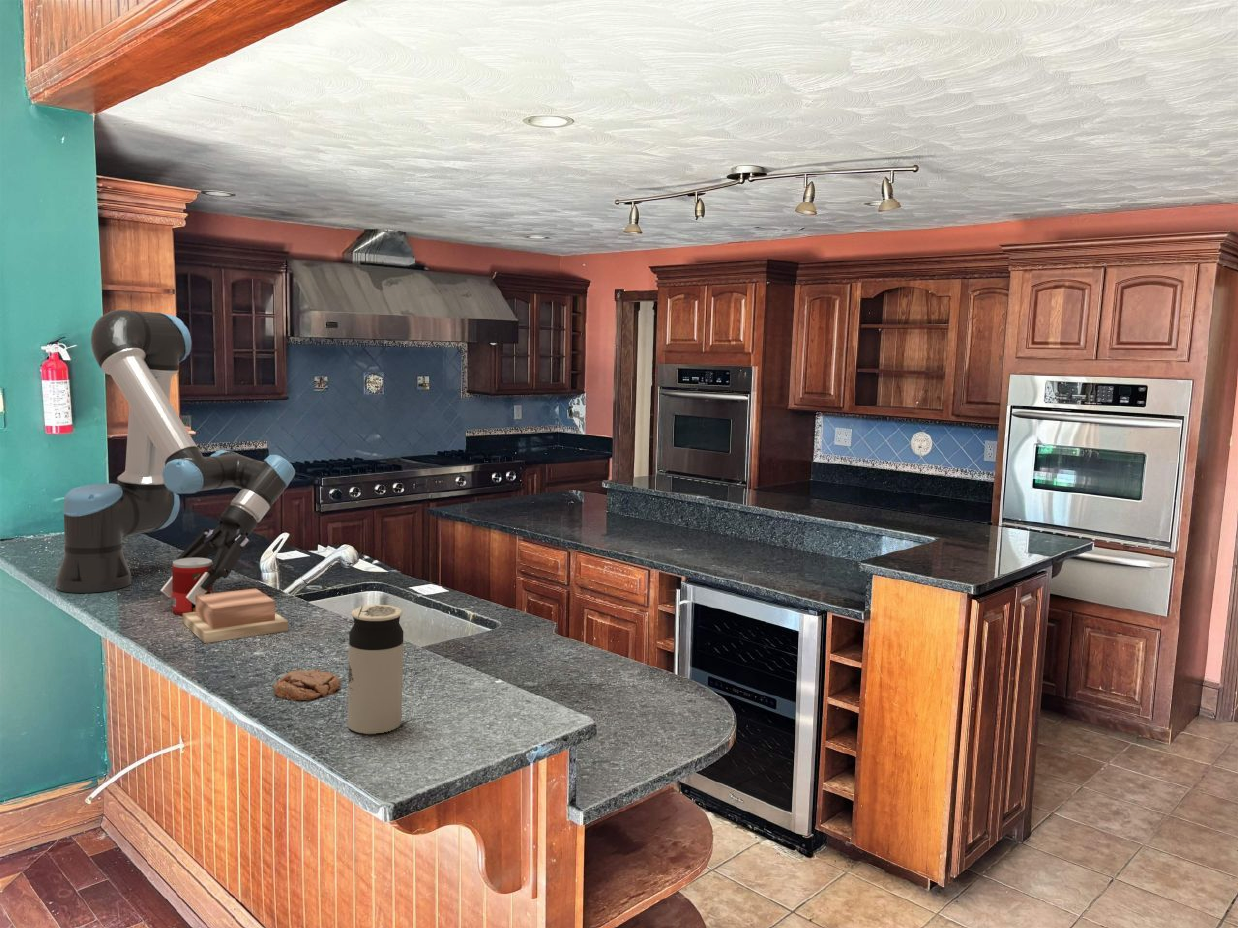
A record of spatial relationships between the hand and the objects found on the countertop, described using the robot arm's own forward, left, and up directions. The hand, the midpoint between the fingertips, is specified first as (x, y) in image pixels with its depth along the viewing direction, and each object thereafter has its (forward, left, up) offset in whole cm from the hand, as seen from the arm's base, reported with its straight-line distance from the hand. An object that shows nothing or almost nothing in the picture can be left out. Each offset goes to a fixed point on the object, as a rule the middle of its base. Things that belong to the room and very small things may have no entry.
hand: (178, 597), depth 189 cm
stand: (+15, +7, -4) cm, 17 cm away
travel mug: (+77, +9, -4) cm, 77 cm away
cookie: (+57, +6, -4) cm, 57 cm away
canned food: (-1, +3, -4) cm, 5 cm away
